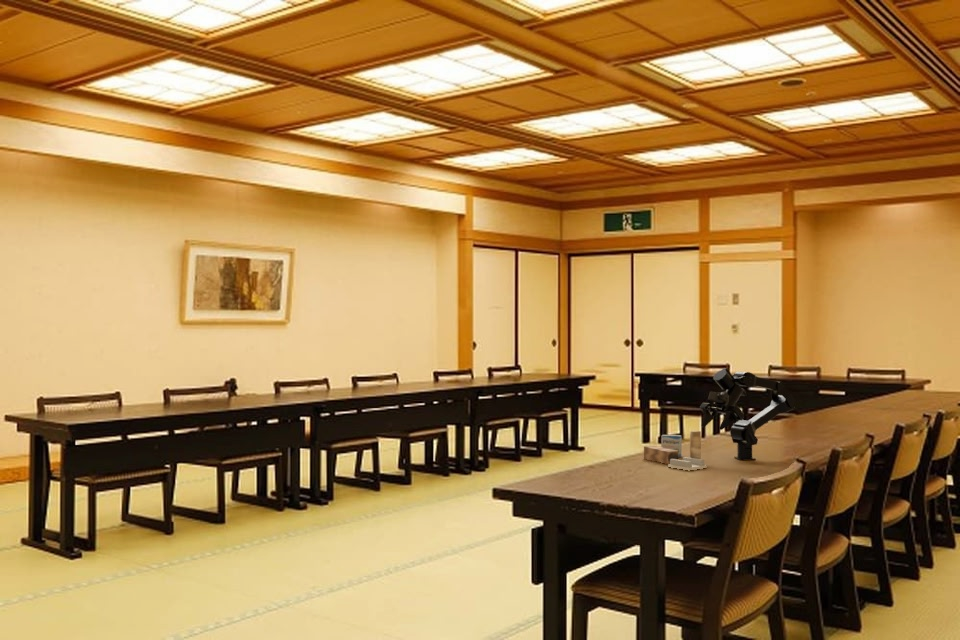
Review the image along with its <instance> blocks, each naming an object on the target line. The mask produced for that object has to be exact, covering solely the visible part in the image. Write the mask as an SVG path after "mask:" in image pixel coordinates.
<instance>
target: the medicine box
mask: <svg viewBox="0 0 960 640" xmlns="http://www.w3.org/2000/svg"><path fill="white" fill-rule="evenodd" d="M660 442H661V446H660V447H662V448H667V449H672V450H676V451H678V454H679V458H681V457H683V453H682V452H683V451H682V450H683V448H682V447H683V446H682V443H683V435H678V434H677V435H676V434H662V435H661V441H660Z"/></svg>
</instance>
